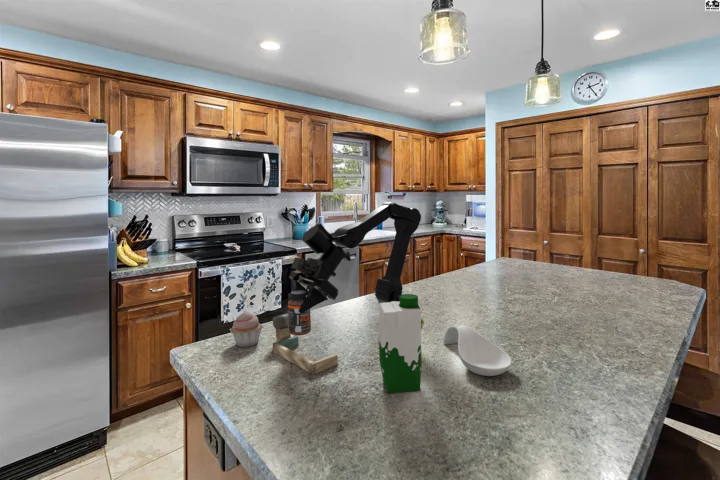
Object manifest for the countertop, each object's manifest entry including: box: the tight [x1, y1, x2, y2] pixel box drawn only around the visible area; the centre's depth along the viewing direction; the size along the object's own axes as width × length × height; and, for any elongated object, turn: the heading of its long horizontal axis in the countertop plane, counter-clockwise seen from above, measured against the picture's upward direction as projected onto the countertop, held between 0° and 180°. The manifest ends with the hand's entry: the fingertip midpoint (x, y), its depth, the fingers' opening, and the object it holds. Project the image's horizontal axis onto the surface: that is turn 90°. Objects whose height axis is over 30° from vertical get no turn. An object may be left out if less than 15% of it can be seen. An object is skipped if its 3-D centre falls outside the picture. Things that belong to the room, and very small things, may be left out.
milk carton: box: [378, 293, 422, 394], centre depth 81 cm, size 9×9×20 cm
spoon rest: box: [443, 324, 513, 377], centre depth 93 cm, size 24×12×7 cm, turn 14°
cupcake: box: [229, 309, 264, 348], centre depth 108 cm, size 9×9×10 cm
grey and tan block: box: [272, 311, 292, 342], centre depth 107 cm, size 4×5×9 cm
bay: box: [272, 335, 339, 375], centre depth 97 cm, size 19×8×2 cm, turn 42°
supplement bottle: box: [287, 290, 312, 337], centre depth 100 cm, size 6×6×11 cm
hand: (294, 309), depth 99 cm, fingers closed on supplement bottle, 6 cm apart
